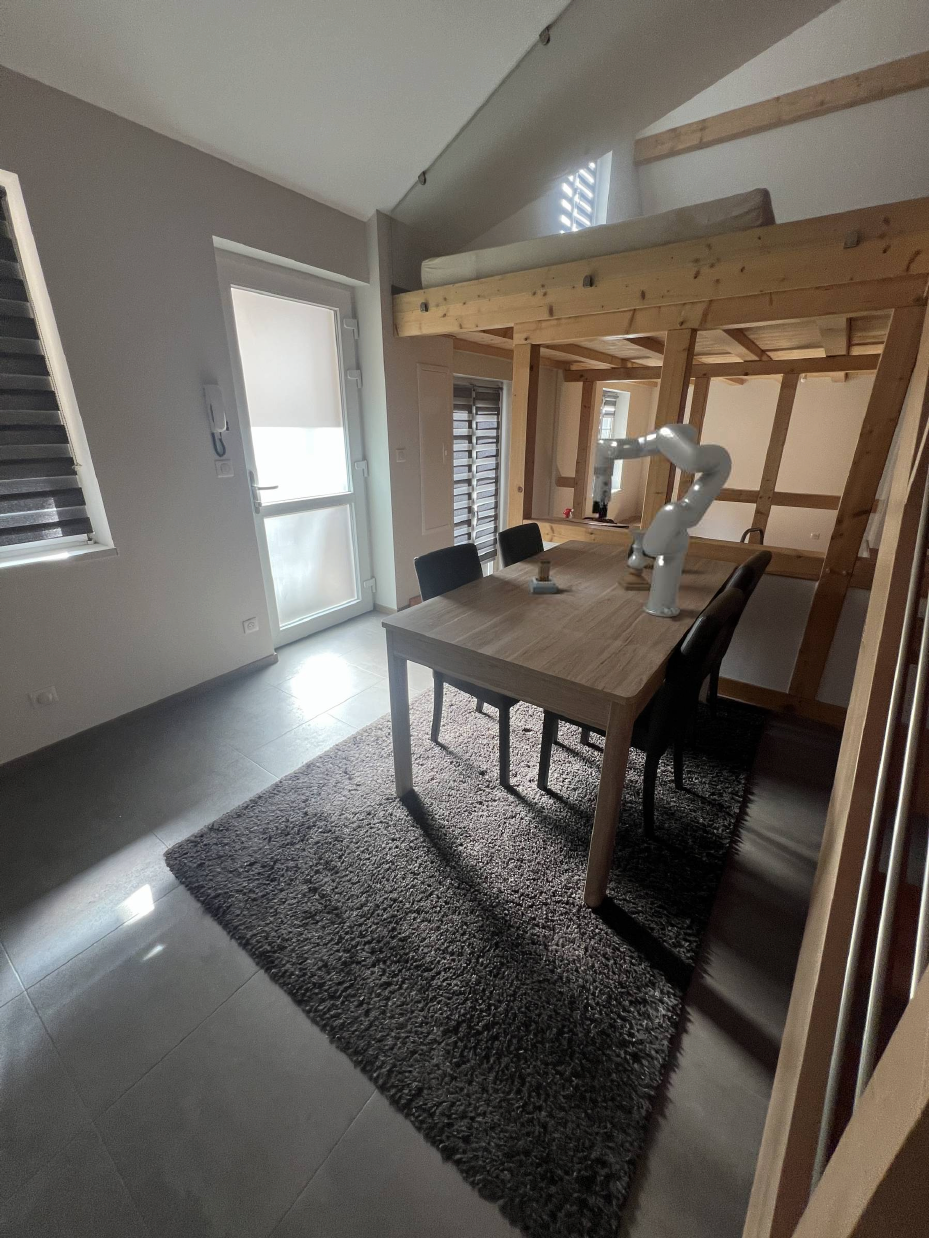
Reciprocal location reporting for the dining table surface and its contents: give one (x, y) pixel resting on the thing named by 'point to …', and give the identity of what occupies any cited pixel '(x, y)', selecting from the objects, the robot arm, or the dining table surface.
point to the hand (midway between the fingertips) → (599, 515)
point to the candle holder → (635, 565)
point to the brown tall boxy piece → (543, 570)
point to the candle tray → (542, 586)
